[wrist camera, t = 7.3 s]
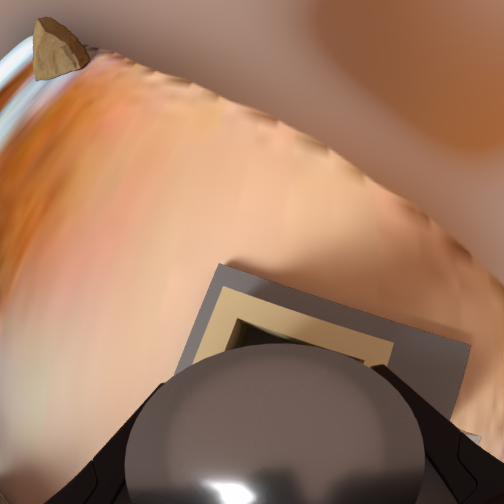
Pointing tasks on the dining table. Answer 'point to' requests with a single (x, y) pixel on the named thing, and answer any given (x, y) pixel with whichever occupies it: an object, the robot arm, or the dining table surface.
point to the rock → (55, 50)
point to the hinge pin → (275, 433)
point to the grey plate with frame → (323, 334)
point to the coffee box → (3, 499)
